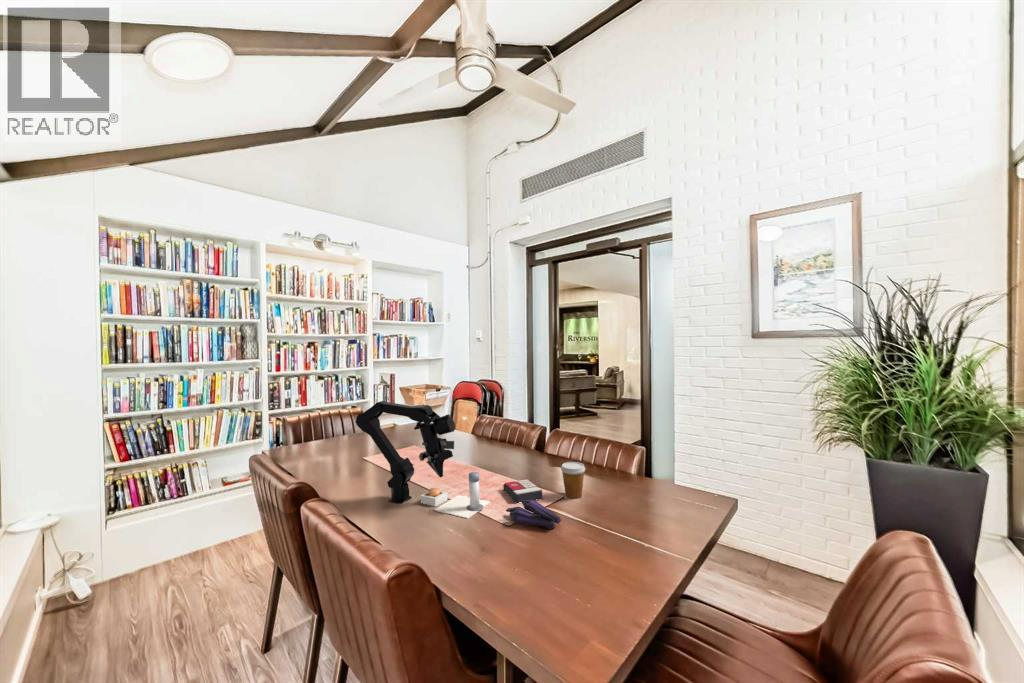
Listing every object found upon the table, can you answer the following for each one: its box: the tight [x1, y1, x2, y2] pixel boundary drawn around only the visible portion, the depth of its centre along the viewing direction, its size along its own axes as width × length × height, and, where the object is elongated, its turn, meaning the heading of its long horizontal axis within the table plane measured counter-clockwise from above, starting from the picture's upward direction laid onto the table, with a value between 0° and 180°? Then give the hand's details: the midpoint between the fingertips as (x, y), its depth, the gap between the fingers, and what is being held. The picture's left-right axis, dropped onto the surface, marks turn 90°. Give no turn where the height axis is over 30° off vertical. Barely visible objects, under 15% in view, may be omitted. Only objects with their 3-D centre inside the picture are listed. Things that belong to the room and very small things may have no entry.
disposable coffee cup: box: [560, 461, 586, 500], centre depth 159 cm, size 10×10×12 cm
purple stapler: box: [505, 499, 562, 530], centre depth 138 cm, size 7×12×20 cm
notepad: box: [434, 494, 491, 519], centre depth 152 cm, size 16×15×1 cm
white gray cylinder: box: [468, 471, 481, 509], centre depth 150 cm, size 4×4×12 cm
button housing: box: [420, 490, 448, 508], centre depth 157 cm, size 7×7×3 cm
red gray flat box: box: [502, 478, 543, 504], centre depth 162 cm, size 11×4×15 cm
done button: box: [427, 487, 441, 497], centre depth 157 cm, size 4×4×2 cm
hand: (441, 476), depth 156 cm, fingers closed
